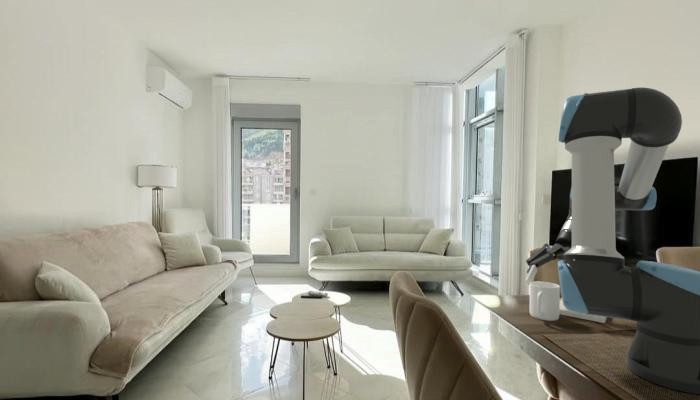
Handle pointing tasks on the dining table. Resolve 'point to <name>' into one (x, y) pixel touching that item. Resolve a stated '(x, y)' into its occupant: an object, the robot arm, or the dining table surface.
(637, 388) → the dining table surface
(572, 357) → the dining table surface
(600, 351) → the dining table surface
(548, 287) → the cup
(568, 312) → the trivet
